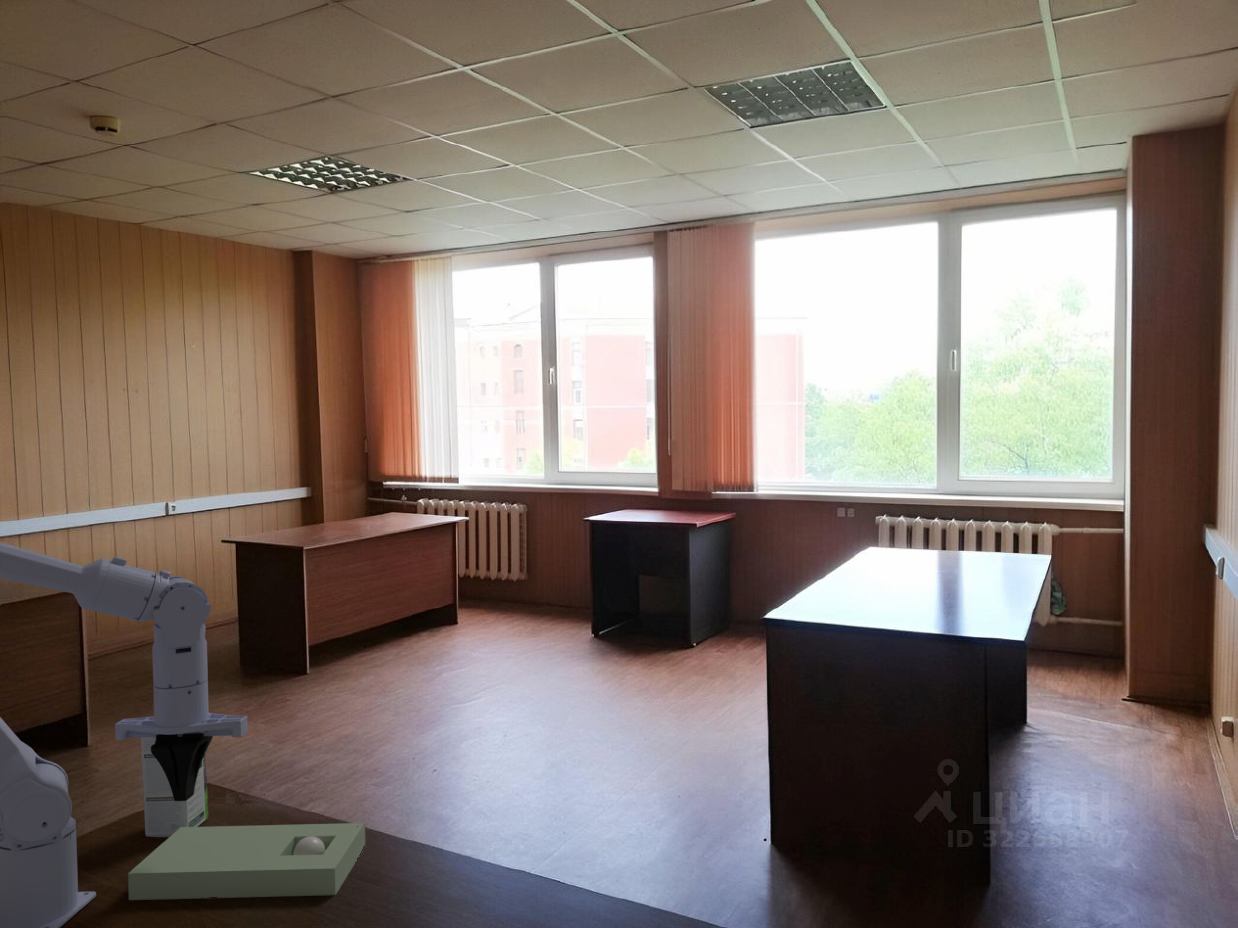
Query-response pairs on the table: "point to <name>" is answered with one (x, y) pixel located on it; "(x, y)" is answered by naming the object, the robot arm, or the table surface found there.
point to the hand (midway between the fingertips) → (184, 797)
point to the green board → (247, 862)
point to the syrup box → (169, 797)
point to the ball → (309, 846)
